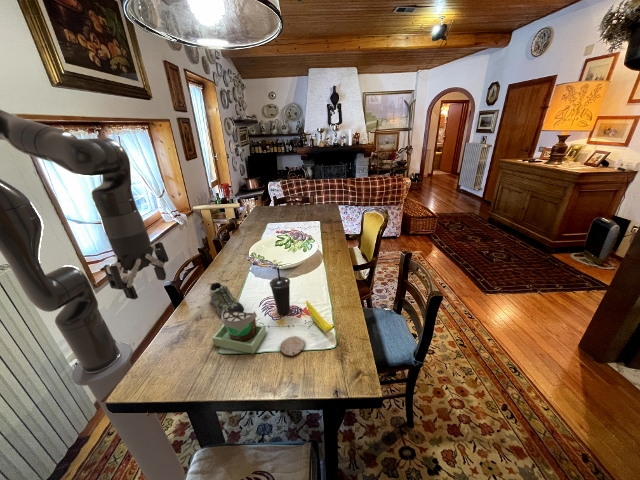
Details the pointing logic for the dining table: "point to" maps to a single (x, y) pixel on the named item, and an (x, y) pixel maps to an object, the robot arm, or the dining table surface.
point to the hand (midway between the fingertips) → (148, 288)
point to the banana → (318, 318)
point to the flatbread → (292, 345)
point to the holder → (249, 346)
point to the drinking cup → (281, 293)
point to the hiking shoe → (224, 299)
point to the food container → (239, 325)
